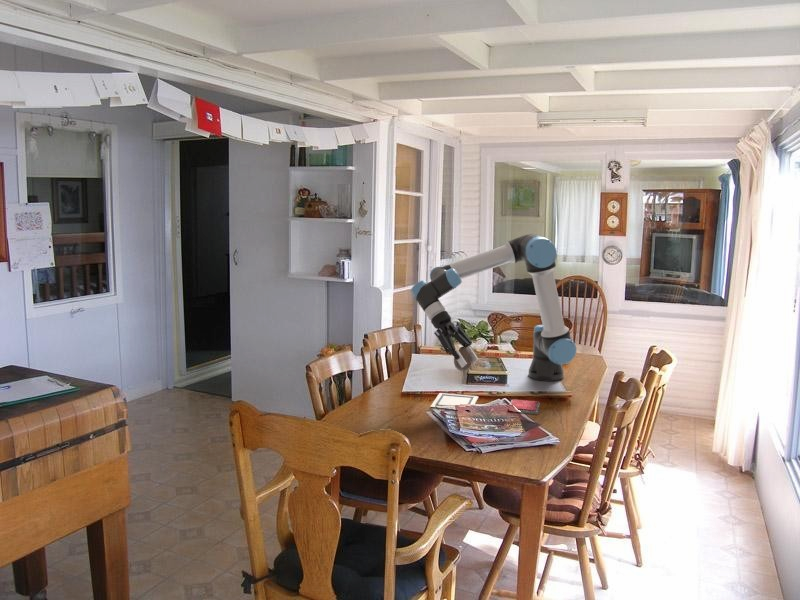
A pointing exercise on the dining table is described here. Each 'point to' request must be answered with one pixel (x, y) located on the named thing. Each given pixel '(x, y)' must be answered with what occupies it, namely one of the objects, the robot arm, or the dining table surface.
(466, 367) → the brown egg
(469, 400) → the marked card
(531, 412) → the ink pad
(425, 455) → the dining table surface
